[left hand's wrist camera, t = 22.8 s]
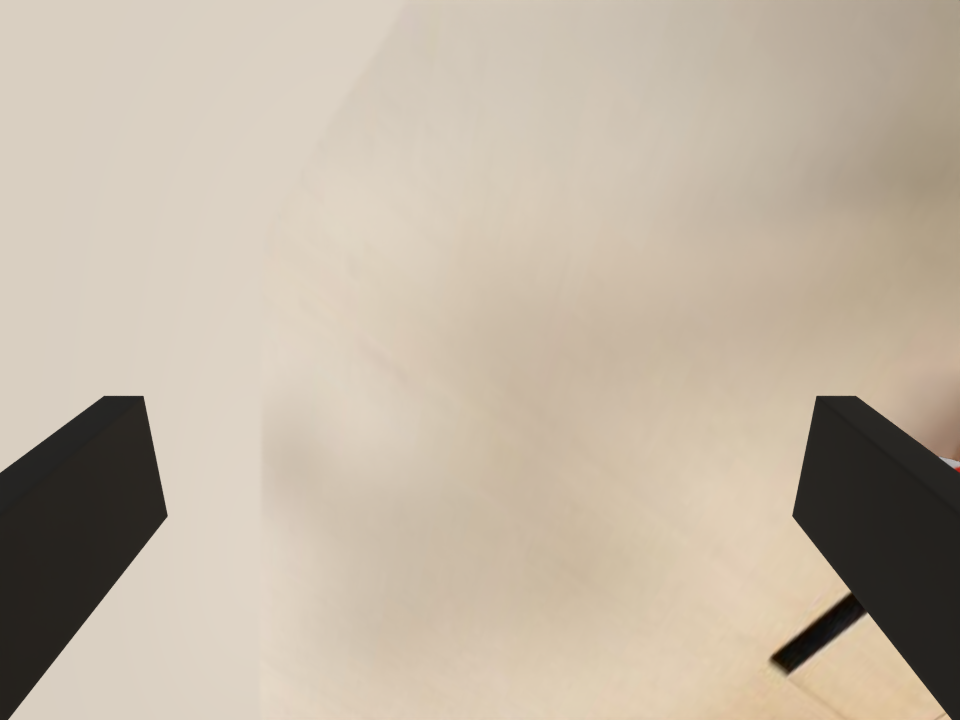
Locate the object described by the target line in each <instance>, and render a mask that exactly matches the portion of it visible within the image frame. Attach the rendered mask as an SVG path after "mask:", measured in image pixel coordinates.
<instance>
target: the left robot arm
mask: <svg viewBox="0 0 960 720" xmlns="http://www.w3.org/2000/svg"><path fill="white" fill-rule="evenodd" d="M167 516H168V515H167V510H166V505H165V500H164V495H163V491H162V485H161V481H160V476H159V471H158V466H157V461H156V456H155V451H154V446H153V441H152V436H151V431H150V426H149V421H148V416H147V412H146V406H145V401H144V396H103V397H102V398H101V399H99V400H98V401H97V402H95V403H94V404H93V405H91V406H90V407H89V408H87V409H86V410H85V411H83V412H82V413H80V414H79V415H78V416H76V417H75V418H74V419H72V420H71V421H70V422H68V423H67V424H66V425H64V426H63V427H62V428H60V429H59V430H57V431H56V432H55V433H53V434H52V435H51V436H49V437H48V438H47V439H45V440H44V441H43V442H41V443H40V444H39V445H37V446H36V447H35V448H33V449H32V450H30V451H29V452H28V453H26V454H25V455H24V456H22V457H21V458H20V459H18V460H17V461H16V462H14V463H13V464H12V465H10V466H9V467H8V468H6V469H5V470H4V471H2V472H1V473H0V720H8V719H9V718H10V717H11V715H12V714H13V713H14V712H15V710H16V709H17V708H18V706H19V705H20V704H21V703H22V701H23V700H24V699H25V697H26V696H27V695H28V694H29V692H30V691H31V690H32V689H33V687H34V686H35V685H36V683H37V682H38V681H39V680H40V678H41V677H42V676H43V675H44V673H45V672H46V671H47V669H48V668H49V667H50V666H51V664H52V663H53V662H54V661H55V659H56V658H57V657H58V655H59V654H60V653H61V652H62V650H63V649H64V648H65V646H66V645H67V644H68V643H69V641H70V640H71V639H72V638H73V636H74V635H75V634H76V632H77V631H78V630H79V629H80V627H81V626H82V625H83V623H84V622H85V621H86V620H87V618H88V617H89V616H90V615H91V613H92V612H93V611H94V610H95V608H96V607H97V606H98V604H99V603H100V602H101V601H102V599H103V598H104V597H105V595H106V594H107V593H108V592H109V590H110V589H111V588H112V586H113V585H114V584H115V583H116V581H117V580H118V579H119V578H120V576H121V575H122V574H123V573H124V571H125V570H126V569H127V567H128V566H129V565H130V564H131V562H132V561H133V560H134V558H135V557H136V556H137V555H138V553H139V552H140V551H141V549H142V548H143V547H144V546H145V544H146V543H147V542H148V541H149V539H150V538H151V537H152V536H153V534H154V533H155V532H156V530H157V529H158V528H159V527H160V525H161V524H162V523H163V521H164V520H165V519H166V518H167ZM792 516H793V518H794V519H795V520H796V521H797V523H798V524H799V525H800V527H801V528H802V529H803V530H804V532H805V533H806V534H807V536H808V537H809V538H810V539H811V541H812V542H813V543H814V544H815V546H816V547H817V548H818V550H819V551H820V552H821V553H822V555H823V556H824V557H825V558H826V560H827V561H828V562H829V564H830V565H831V566H832V567H833V569H834V570H835V571H836V573H837V574H838V575H839V576H840V578H841V579H842V580H843V581H844V583H845V584H846V585H847V587H848V588H849V589H850V590H851V592H852V593H853V594H854V595H855V597H856V598H857V599H858V601H859V602H860V603H861V604H862V606H863V607H864V608H865V610H866V611H867V612H868V613H869V615H870V616H871V617H872V618H873V620H874V621H875V622H876V624H877V625H878V626H879V627H880V629H881V630H882V631H883V632H884V634H885V635H886V636H887V638H888V639H889V640H890V641H891V643H892V644H893V645H894V647H895V648H896V649H897V650H898V652H899V653H900V654H901V655H902V657H903V658H904V659H905V661H906V662H907V663H908V664H909V666H910V667H911V668H912V669H913V671H914V672H915V673H916V675H917V676H918V677H919V678H920V680H921V681H922V682H923V683H924V685H925V686H926V687H927V689H928V690H929V691H930V692H931V694H932V695H933V696H934V698H935V699H936V700H937V701H938V703H939V704H940V705H941V706H942V708H943V709H944V710H945V712H946V713H947V714H948V715H949V717H950V718H951V719H952V720H960V473H959V472H958V471H957V470H955V469H954V468H952V467H951V466H950V465H948V464H947V463H946V462H944V461H943V460H942V459H940V458H939V457H938V456H936V455H935V454H934V453H932V452H931V451H930V450H928V449H927V448H925V447H924V446H923V445H921V444H920V443H919V442H917V441H916V440H915V439H913V438H912V437H911V436H909V435H908V434H907V433H905V432H904V431H903V430H901V429H900V428H898V427H897V426H896V425H894V424H893V423H892V422H890V421H889V420H888V419H886V418H885V417H884V416H882V415H881V414H880V413H878V412H877V411H875V410H874V409H873V408H871V407H870V406H869V405H867V404H866V403H865V402H863V401H862V400H861V399H859V398H858V397H857V396H816V401H815V406H814V411H813V416H812V421H811V426H810V431H809V436H808V441H807V446H806V451H805V456H804V461H803V466H802V471H801V476H800V480H799V485H798V490H797V495H796V500H795V505H794V510H793V515H792Z"/></svg>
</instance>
